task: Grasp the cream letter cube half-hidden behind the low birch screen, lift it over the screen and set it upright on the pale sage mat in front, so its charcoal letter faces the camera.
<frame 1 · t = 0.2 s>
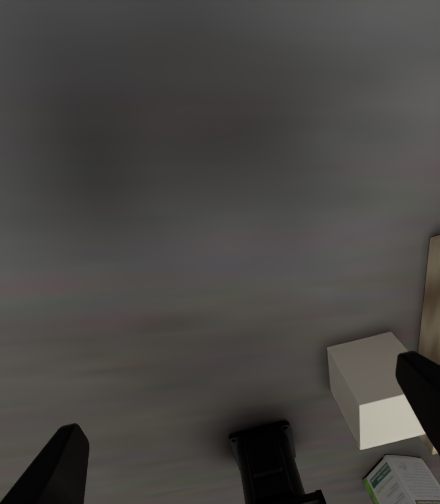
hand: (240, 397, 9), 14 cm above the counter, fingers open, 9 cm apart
birch screen: (426, 345, 30), on the counter
letter cube: (358, 361, 30), on the counter
syrup box: (391, 466, 40), on the counter
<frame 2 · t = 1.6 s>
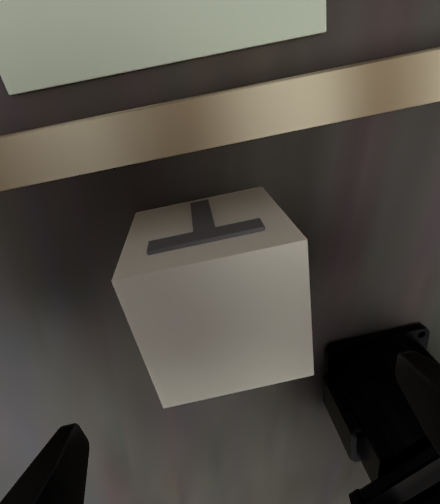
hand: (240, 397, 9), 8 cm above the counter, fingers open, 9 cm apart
birch screen: (181, 119, 13), on the counter
letter cube: (210, 254, 16), on the counter
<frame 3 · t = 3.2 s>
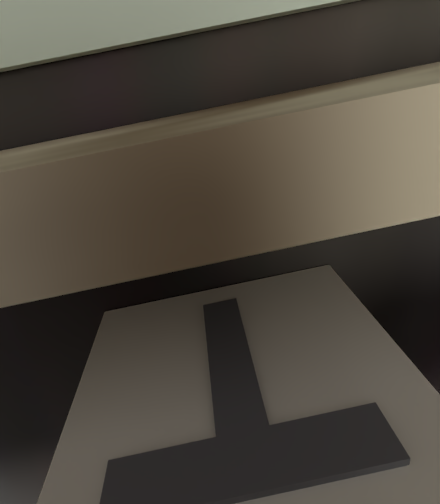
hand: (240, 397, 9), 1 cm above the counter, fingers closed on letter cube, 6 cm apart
birch screen: (188, 152, 7), on the counter
letter cube: (234, 367, 10), on the counter, touching gripper
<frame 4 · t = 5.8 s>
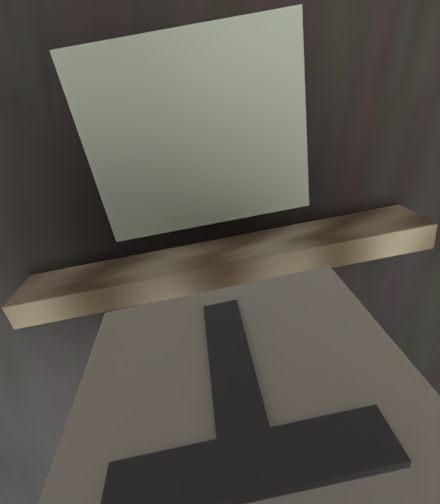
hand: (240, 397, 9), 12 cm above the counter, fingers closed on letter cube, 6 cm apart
birch screen: (218, 249, 20), on the counter
letter cube: (235, 368, 10), point 11 cm above the counter, touching gripper
sage mat: (197, 137, 17), on the counter
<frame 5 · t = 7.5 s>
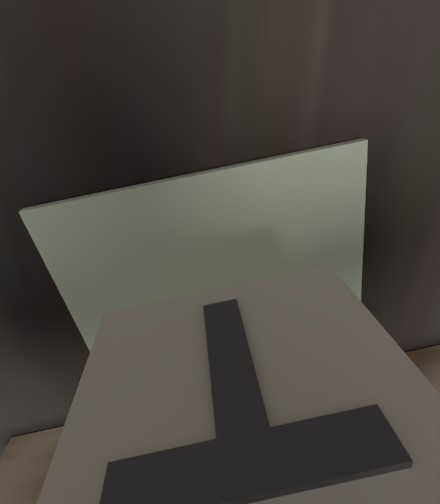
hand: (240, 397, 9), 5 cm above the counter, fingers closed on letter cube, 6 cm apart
birch screen: (242, 397, 16), on the counter
letter cube: (235, 368, 10), point 4 cm above the counter, touching gripper
sage mat: (219, 289, 13), on the counter
when the fingers open (3 cm above the counter, at t = 8.8 s): letter cube drops 2 cm, resting on sage mat.
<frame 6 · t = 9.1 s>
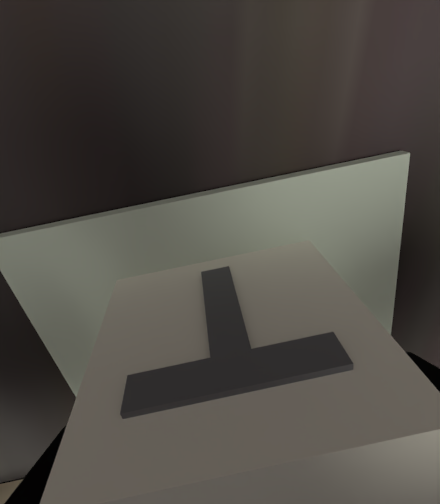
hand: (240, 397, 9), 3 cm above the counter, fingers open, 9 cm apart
letter cube: (229, 333, 11), resting on sage mat
sage mat: (226, 325, 11), on the counter
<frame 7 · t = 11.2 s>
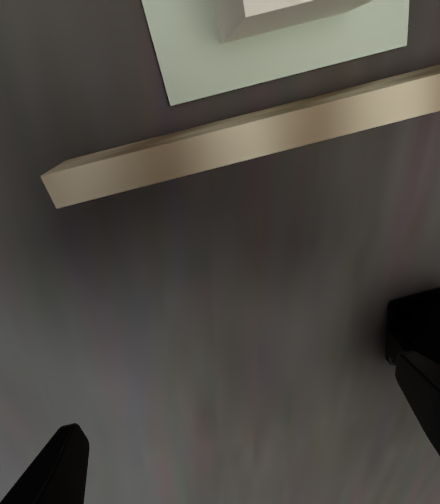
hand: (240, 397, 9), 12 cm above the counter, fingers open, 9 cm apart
birch screen: (290, 118, 17), on the counter
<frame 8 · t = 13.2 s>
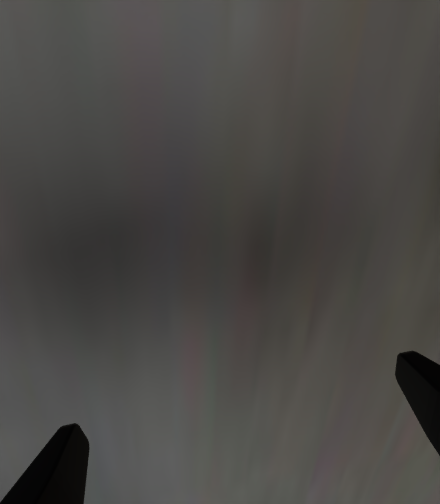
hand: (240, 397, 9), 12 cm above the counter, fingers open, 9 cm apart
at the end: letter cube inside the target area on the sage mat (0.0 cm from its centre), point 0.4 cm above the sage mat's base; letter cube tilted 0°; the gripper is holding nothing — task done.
